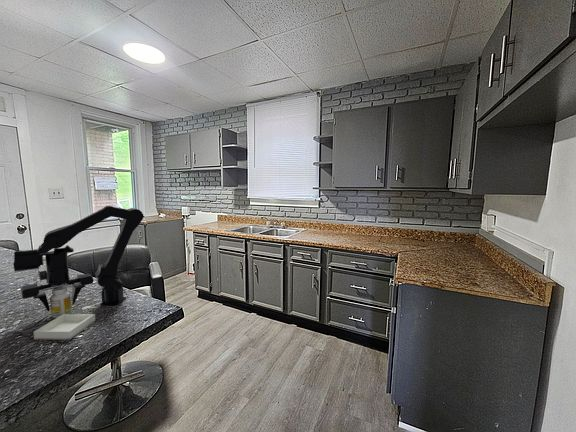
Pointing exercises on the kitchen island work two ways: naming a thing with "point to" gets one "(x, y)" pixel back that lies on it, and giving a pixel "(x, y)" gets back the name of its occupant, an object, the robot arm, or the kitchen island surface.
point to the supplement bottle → (60, 302)
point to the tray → (65, 326)
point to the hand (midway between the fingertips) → (61, 307)
